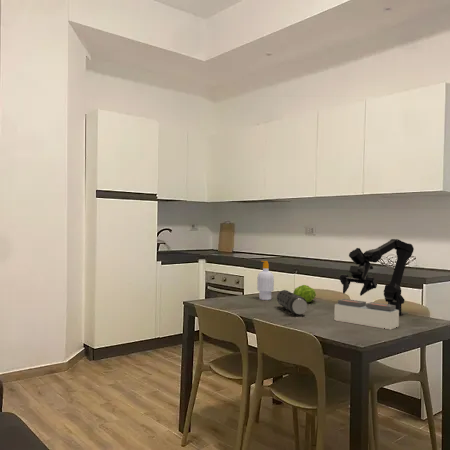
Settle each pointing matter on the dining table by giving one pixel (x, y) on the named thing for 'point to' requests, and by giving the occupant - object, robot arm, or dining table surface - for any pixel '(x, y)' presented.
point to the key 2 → (380, 306)
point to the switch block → (367, 316)
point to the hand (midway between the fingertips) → (351, 294)
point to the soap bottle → (265, 282)
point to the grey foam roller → (292, 302)
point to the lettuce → (305, 292)
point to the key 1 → (352, 302)
